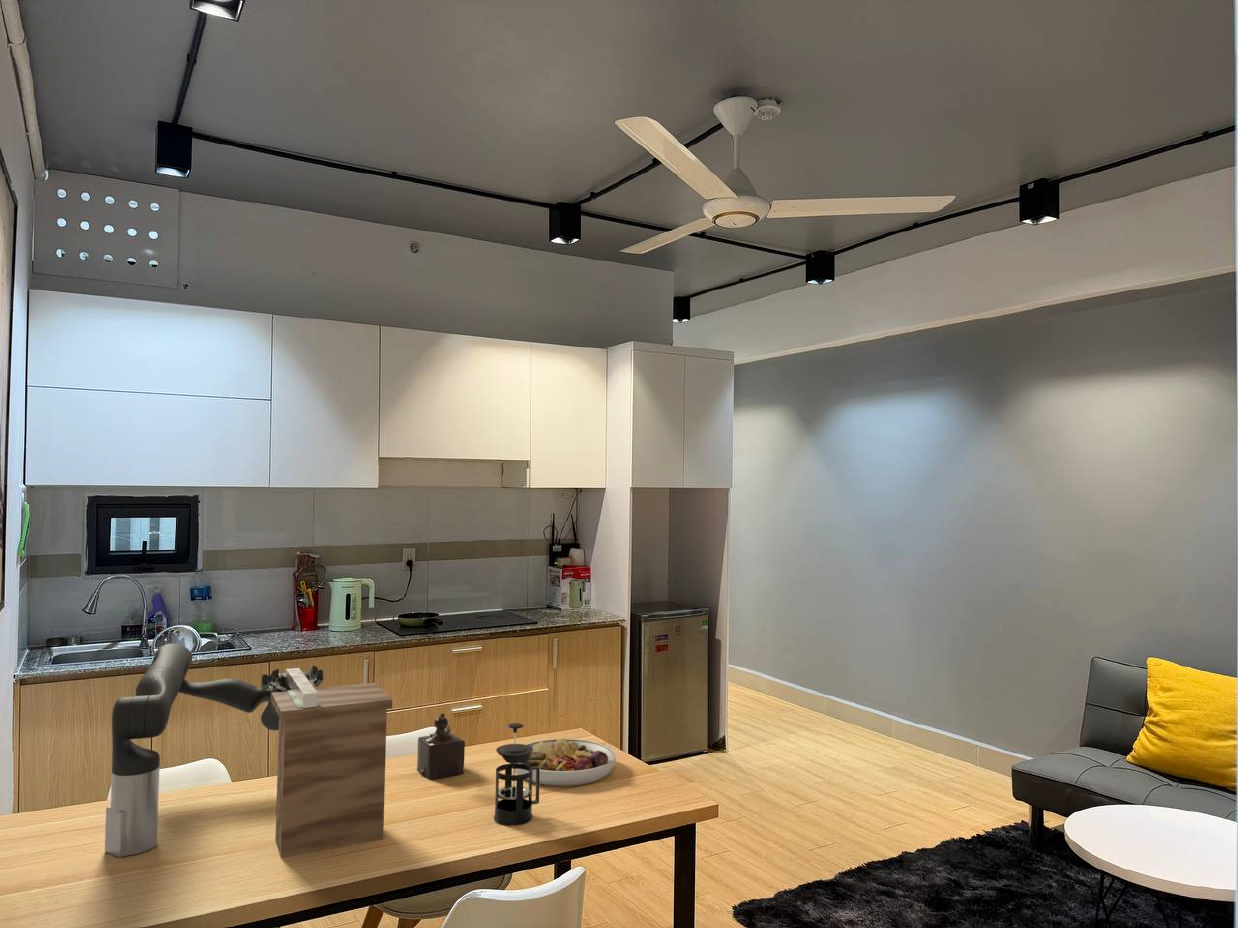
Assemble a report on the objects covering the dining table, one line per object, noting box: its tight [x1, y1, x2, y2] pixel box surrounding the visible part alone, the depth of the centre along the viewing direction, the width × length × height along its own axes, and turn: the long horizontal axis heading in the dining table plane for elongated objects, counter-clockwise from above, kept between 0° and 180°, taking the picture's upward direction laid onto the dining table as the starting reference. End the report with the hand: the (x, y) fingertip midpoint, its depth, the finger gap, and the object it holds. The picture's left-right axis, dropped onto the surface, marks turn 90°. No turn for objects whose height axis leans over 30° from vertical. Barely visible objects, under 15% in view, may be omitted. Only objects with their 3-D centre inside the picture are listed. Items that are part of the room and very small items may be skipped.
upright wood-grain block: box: [271, 682, 393, 859], centre depth 193 cm, size 18×24×32 cm
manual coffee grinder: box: [416, 712, 466, 780], centre depth 235 cm, size 16×11×18 cm
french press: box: [493, 722, 540, 827], centre depth 205 cm, size 12×9×23 cm
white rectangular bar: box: [285, 667, 318, 708], centre depth 196 cm, size 28×3×3 cm, turn 29°
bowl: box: [515, 737, 616, 787], centre depth 240 cm, size 30×30×8 cm
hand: (296, 670), depth 203 cm, fingers open, 8 cm apart
